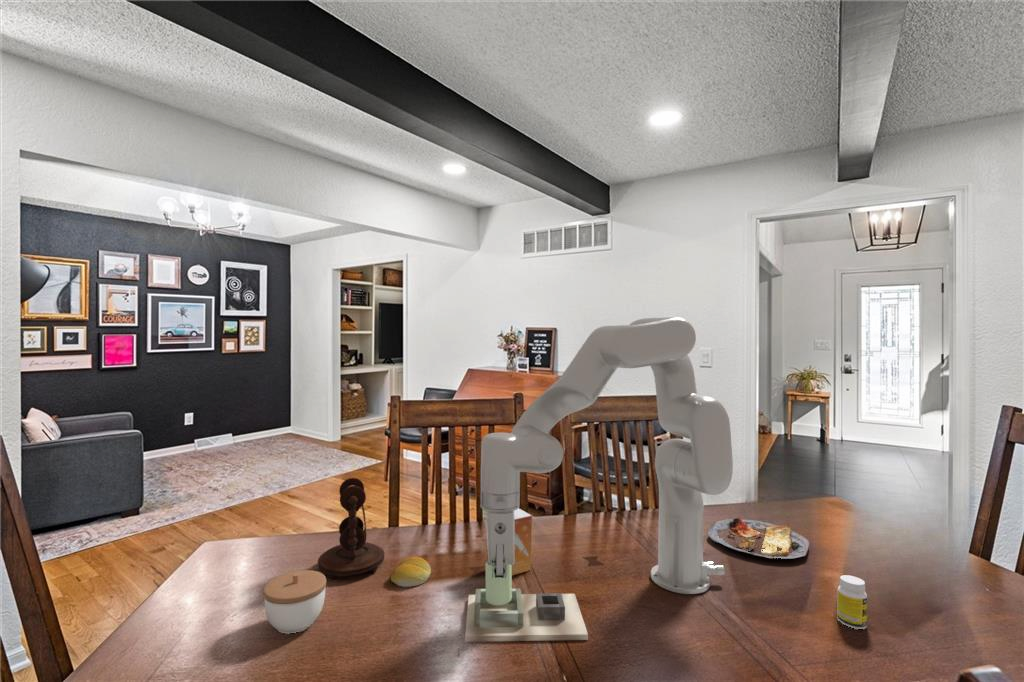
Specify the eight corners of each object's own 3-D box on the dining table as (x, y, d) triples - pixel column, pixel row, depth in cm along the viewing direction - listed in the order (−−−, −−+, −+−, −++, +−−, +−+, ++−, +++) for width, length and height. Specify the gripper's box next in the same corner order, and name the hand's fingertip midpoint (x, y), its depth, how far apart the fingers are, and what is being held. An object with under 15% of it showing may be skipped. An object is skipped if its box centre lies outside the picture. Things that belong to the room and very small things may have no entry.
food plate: (722, 519, 149) (722, 507, 149) (812, 539, 135) (812, 526, 135) (699, 549, 128) (700, 536, 128) (803, 576, 115) (803, 562, 115)
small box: (502, 579, 110) (503, 521, 110) (487, 568, 115) (488, 513, 115) (531, 570, 114) (532, 514, 114) (516, 560, 120) (517, 506, 120)
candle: (481, 602, 93) (480, 559, 93) (492, 589, 98) (491, 548, 97) (505, 608, 91) (505, 564, 91) (515, 594, 96) (515, 552, 96)
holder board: (574, 598, 102) (574, 581, 102) (587, 639, 88) (588, 620, 88) (468, 599, 101) (468, 582, 101) (465, 641, 87) (465, 622, 87)
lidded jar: (281, 608, 98) (281, 560, 97) (334, 609, 97) (335, 562, 97) (251, 641, 87) (251, 588, 87) (311, 643, 87) (311, 590, 86)
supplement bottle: (867, 633, 91) (868, 588, 91) (837, 625, 94) (838, 581, 94) (865, 621, 95) (866, 577, 95) (836, 613, 98) (837, 571, 98)
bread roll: (385, 587, 107) (385, 568, 107) (402, 568, 115) (402, 551, 115) (421, 591, 105) (421, 572, 105) (435, 571, 114) (435, 554, 114)
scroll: (387, 576, 111) (388, 488, 111) (316, 587, 106) (317, 494, 106) (381, 549, 125) (381, 471, 124) (318, 558, 120) (319, 476, 119)
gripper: (522, 513, 87) (520, 617, 87) (517, 485, 103) (516, 573, 103) (479, 513, 86) (478, 617, 87) (481, 485, 102) (480, 574, 102)
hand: (498, 593), depth 95 cm, fingers closed on candle
